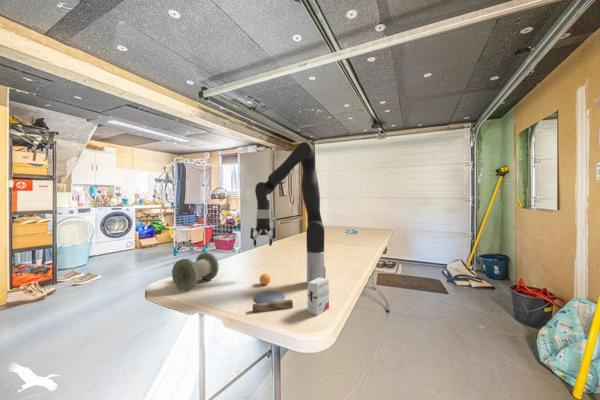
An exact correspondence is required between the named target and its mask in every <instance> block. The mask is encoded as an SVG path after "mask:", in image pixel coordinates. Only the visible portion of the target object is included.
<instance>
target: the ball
mask: <svg viewBox="0 0 600 400" xmlns="http://www.w3.org/2000/svg"><path fill="white" fill-rule="evenodd" d="M270 282H271V276H270V275H269V273H263V274H261V275H260V276H259V283H261V285H263V286H264V285H265V286H266V285H268V284H269V283H270Z"/></svg>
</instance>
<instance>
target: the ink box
mask: <svg viewBox="0 0 600 400" xmlns="http://www.w3.org/2000/svg"><path fill="white" fill-rule="evenodd" d="M329 281H330V280H329V279H328V278H326V279H325V278H320V277H319V278H317V279H315V280H312V281H310V282H308V284H307V312H308V313H310V314H312V315H315V316H319V315H321V314H322V313H324V312H325V311H327V310H328V309H329V308H330V289H329V288H330V285H329ZM326 309H327V310H326ZM323 311H324V312H323ZM320 313H321V314H320Z"/></svg>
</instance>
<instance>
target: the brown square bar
mask: <svg viewBox="0 0 600 400" xmlns="http://www.w3.org/2000/svg"><path fill="white" fill-rule="evenodd" d="M293 303H294V302H293V300H292V299H286V300H285V299H284V300H283V301H275V302H266V303H253V304H252V314H255V313H264V312H270V311H277V310H285V309H291V308H292V309H293V306H294V305H293Z"/></svg>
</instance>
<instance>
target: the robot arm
mask: <svg viewBox="0 0 600 400" xmlns="http://www.w3.org/2000/svg"><path fill="white" fill-rule="evenodd" d="M315 151H316V150H315V149H314V147H313V146H312V145H311V144H310V143H308V142H305V141H303V142H300V143H299V144H298V145H297V146H296V147H295V148H294V150H292V152H291V153H290V154H289V156H288V157H287V158H286V159H285V160H284V161H283V162H282V163H281V164H280V165H279V166H278V167H277V168H276V169H275V170H274V171H272V173H270V174H269V175H268V177H267V181H265V182H263V181H262V182H257V184H256V185H255V190H254V194H255V197H256V201H257V204H256V205H257V207H256V209H257V210H256V226H255V227H251V228H250V234H249V235H250V237H249V238H250V239H252V240H253V246H254V247H257V238H258V237H259V236H268V238H269V239H268V240H269V241H268V243H269V244H268V245H269V247H271V246H272V245H273V239H276V228H275V227H271V225H270V224H271V211H270V204H271V203H270V200H269V199H268V197H267V196H268V195H269V194H271V193H272V192H273V191H274V190H275V189H276V188H277V187H278V185H279V184H280V183H281V182H283V181H284V180H285V179H286V178H287V177H288V176H289V174H290V173H291V171H292V170H293V169H295V167H296V166H297V165H299V164H300V163H301V168H302V178H301V193H302V200H303V203H304V207H305V211H306V216H307V225H306V226H307V227H306V285H308V282H310V281H312V280H315V279H317V278H319V277H320V278H325V279H327V276H326V272H327V271H326V270H327V269H326V267H327V266H326V265H325V227H324V224H323V220H322V216H321V207H320V206H321V197H320V195H321V194H320V185H319V182H318V181H319V180H318V174H317V171H316V170H317V169H316V152H315ZM255 231H256V233H255V235H254V232H255ZM270 232H272V235H271V234H270Z"/></svg>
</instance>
